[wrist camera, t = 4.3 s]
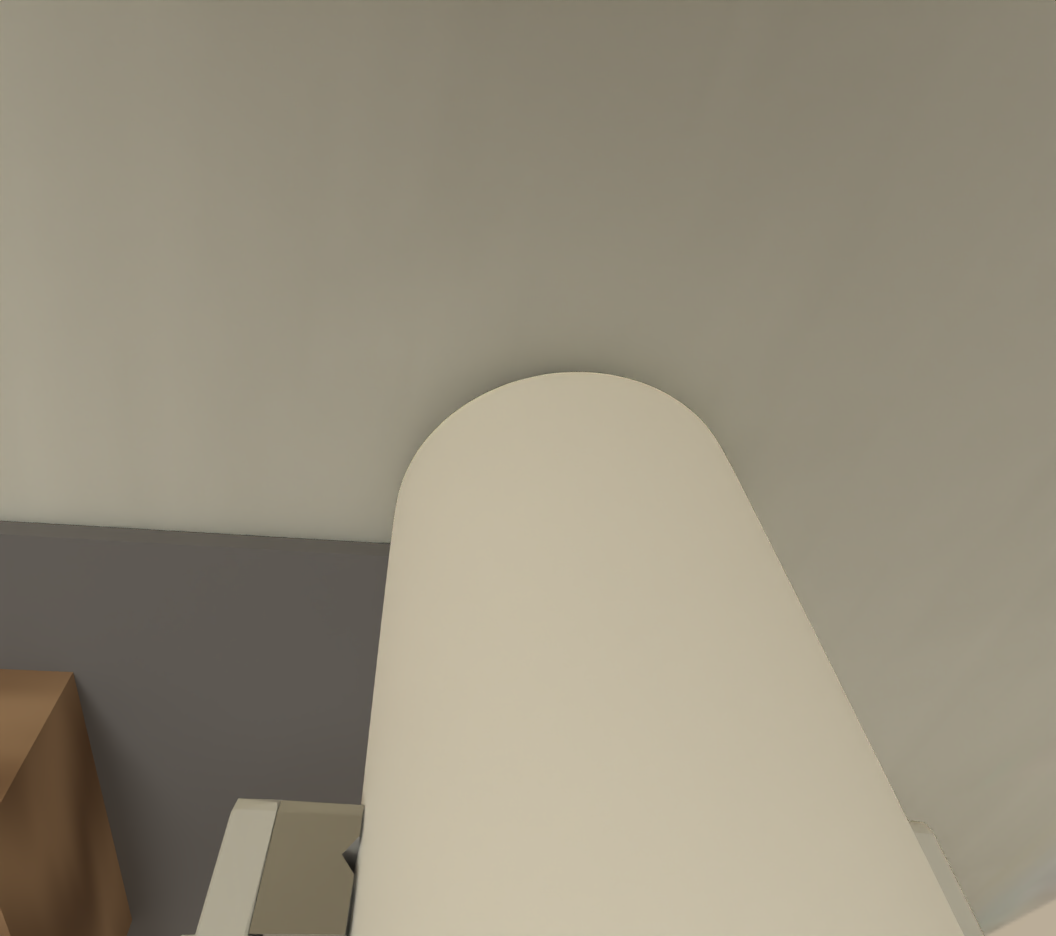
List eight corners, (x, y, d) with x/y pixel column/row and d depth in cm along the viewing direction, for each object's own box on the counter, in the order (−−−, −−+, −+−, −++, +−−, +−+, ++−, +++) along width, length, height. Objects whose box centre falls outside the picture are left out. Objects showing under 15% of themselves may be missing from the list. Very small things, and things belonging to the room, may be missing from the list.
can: (748, 597, 18) (1104, 1444, 8) (450, 664, 19) (440, 1545, 9) (708, 318, 15) (1245, 1194, 5) (345, 409, 15) (120, 1385, 5)
